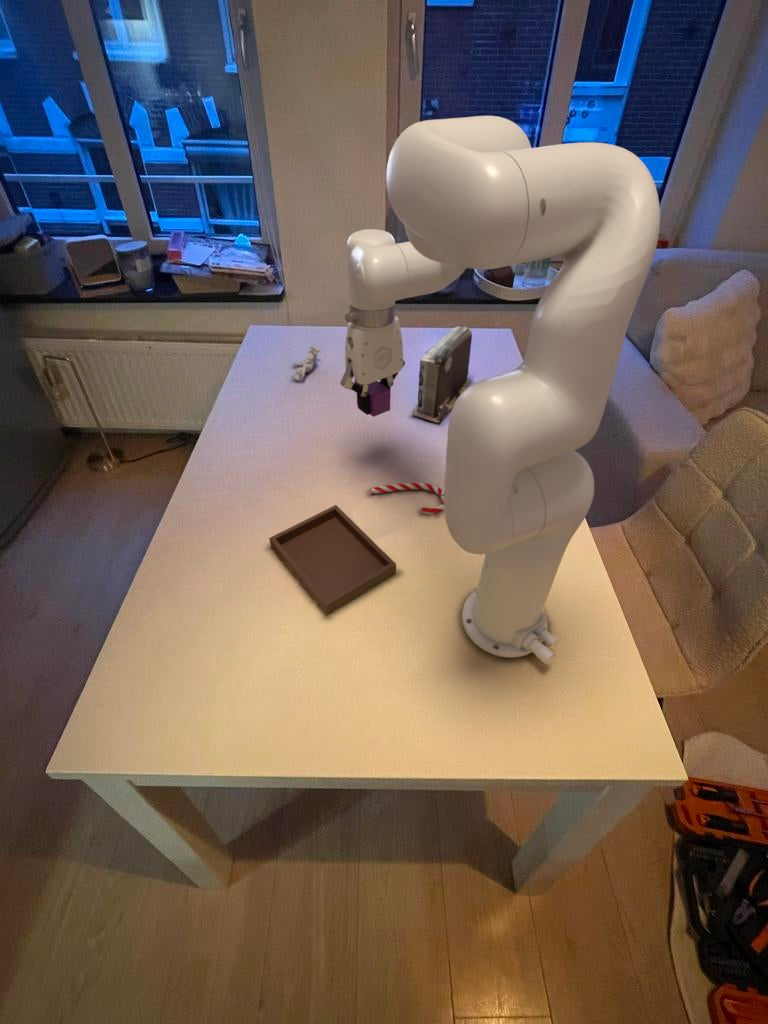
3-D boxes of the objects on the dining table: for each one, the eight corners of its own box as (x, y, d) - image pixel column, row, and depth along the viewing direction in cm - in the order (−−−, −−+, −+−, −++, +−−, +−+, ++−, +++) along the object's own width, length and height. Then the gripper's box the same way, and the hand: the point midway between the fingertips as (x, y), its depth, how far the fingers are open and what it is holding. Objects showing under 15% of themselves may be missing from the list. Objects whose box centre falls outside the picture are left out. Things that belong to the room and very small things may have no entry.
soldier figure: (284, 382, 132) (295, 347, 137) (300, 393, 134) (310, 358, 140) (301, 368, 126) (311, 332, 132) (317, 379, 129) (327, 343, 134)
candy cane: (372, 476, 102) (450, 484, 101) (372, 481, 103) (449, 489, 102) (366, 504, 97) (447, 512, 95) (366, 509, 98) (447, 517, 96)
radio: (452, 372, 134) (458, 314, 124) (483, 381, 131) (492, 323, 120) (404, 414, 120) (406, 354, 110) (436, 426, 117) (442, 365, 106)
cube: (390, 410, 100) (390, 389, 97) (373, 417, 99) (373, 396, 96) (374, 399, 103) (374, 378, 100) (358, 405, 101) (357, 385, 98)
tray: (396, 573, 86) (396, 564, 85) (326, 615, 81) (325, 606, 79) (336, 514, 96) (335, 504, 95) (271, 547, 91) (268, 537, 89)
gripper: (343, 334, 82) (349, 431, 95) (424, 308, 90) (420, 401, 102) (318, 318, 87) (326, 413, 99) (397, 294, 94) (396, 385, 107)
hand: (374, 406), depth 101 cm, fingers closed on cube, 4 cm apart
